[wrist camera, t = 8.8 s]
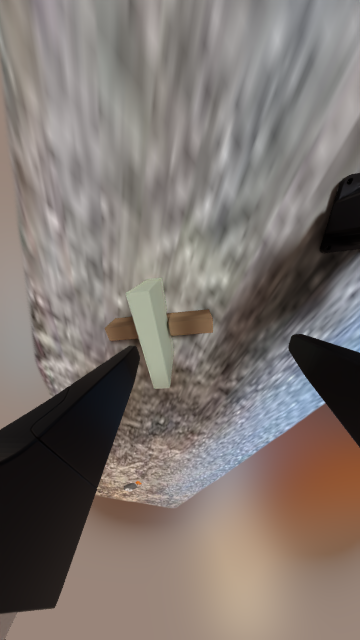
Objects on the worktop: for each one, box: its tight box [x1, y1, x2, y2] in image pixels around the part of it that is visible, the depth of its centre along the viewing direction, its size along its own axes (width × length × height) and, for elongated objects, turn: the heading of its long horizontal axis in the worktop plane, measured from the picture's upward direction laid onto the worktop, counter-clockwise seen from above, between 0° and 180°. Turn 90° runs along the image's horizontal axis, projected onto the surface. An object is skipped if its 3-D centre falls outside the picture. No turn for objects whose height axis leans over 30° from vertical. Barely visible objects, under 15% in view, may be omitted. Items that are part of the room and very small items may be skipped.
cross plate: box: [126, 278, 174, 389], centre depth 17 cm, size 12×2×7 cm, turn 7°
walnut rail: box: [105, 310, 213, 341], centre depth 19 cm, size 14×2×3 cm, turn 97°
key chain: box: [124, 481, 143, 492], centre depth 51 cm, size 13×4×2 cm, turn 139°
